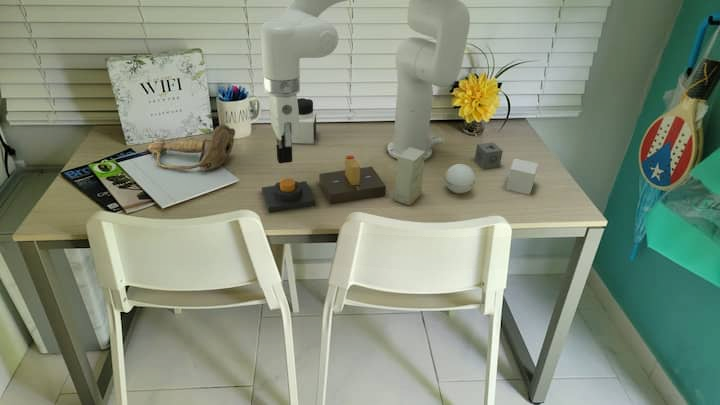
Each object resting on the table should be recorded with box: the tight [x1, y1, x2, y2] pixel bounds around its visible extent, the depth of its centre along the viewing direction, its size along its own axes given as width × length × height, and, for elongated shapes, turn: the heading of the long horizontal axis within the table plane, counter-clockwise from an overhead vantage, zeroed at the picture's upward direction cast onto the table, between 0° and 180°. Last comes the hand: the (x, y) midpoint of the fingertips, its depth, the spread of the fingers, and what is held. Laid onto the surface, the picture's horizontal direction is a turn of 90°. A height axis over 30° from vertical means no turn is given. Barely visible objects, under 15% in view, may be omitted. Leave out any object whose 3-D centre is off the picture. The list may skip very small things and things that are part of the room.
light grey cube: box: [505, 158, 539, 196], centre depth 130 cm, size 6×6×6 cm
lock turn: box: [344, 155, 361, 186], centre depth 124 cm, size 6×2×5 cm, turn 19°
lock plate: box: [318, 166, 387, 205], centre depth 126 cm, size 14×10×3 cm
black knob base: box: [261, 180, 316, 214], centre depth 122 cm, size 11×9×4 cm
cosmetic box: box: [393, 147, 425, 206], centre depth 122 cm, size 6×4×12 cm
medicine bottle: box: [292, 96, 317, 145], centre depth 147 cm, size 7×7×12 cm
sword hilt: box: [144, 124, 236, 172], centre depth 135 cm, size 10×24×15 cm
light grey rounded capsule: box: [444, 163, 476, 194], centre depth 125 cm, size 10×7×7 cm
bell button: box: [279, 177, 296, 192], centre depth 120 cm, size 4×4×2 cm
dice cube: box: [474, 141, 503, 170], centre depth 139 cm, size 5×5×5 cm
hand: (284, 161), depth 117 cm, fingers closed
